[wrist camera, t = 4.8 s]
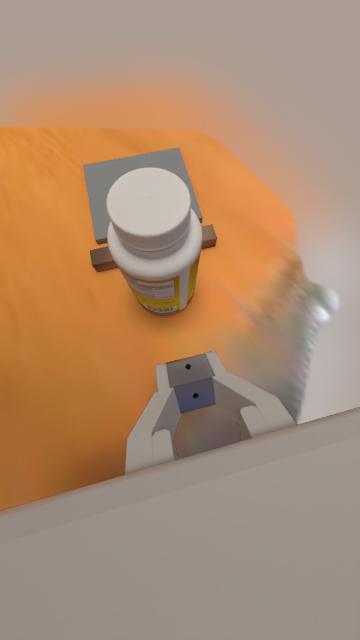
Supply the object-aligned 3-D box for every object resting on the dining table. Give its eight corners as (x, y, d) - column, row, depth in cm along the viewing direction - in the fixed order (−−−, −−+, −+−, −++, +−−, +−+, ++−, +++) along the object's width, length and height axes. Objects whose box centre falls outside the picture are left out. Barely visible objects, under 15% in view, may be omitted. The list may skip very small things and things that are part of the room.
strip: (97, 271, 19) (92, 265, 18) (95, 257, 20) (89, 250, 19) (214, 245, 20) (217, 238, 19) (210, 232, 21) (212, 224, 20)
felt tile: (98, 243, 20) (95, 240, 20) (85, 170, 23) (83, 165, 22) (201, 221, 21) (202, 217, 20) (179, 153, 24) (179, 147, 23)
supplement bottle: (173, 253, 20) (168, 137, 10) (205, 297, 19) (233, 213, 9) (125, 281, 19) (67, 184, 9) (154, 328, 18) (124, 274, 8)
